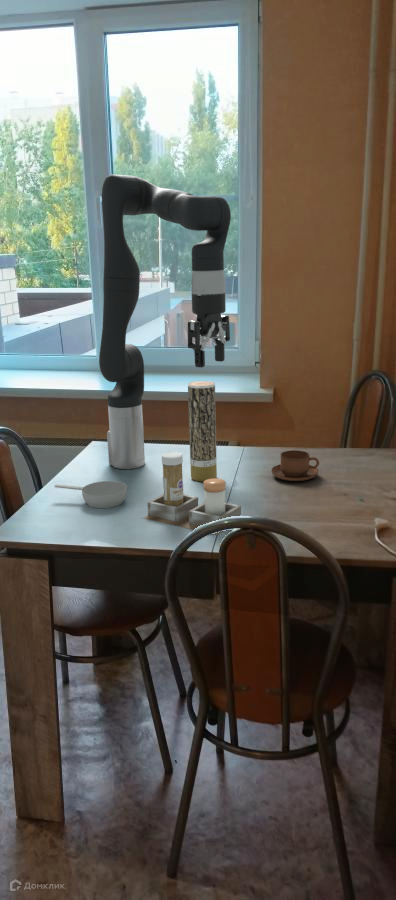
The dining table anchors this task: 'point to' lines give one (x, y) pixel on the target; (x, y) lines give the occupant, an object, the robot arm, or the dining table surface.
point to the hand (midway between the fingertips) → (210, 364)
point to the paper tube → (202, 430)
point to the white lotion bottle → (214, 496)
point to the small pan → (101, 493)
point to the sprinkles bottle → (172, 478)
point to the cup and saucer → (295, 466)
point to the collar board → (186, 512)
